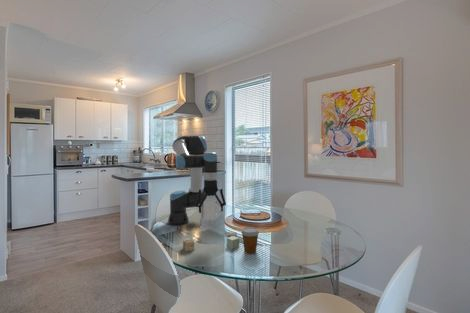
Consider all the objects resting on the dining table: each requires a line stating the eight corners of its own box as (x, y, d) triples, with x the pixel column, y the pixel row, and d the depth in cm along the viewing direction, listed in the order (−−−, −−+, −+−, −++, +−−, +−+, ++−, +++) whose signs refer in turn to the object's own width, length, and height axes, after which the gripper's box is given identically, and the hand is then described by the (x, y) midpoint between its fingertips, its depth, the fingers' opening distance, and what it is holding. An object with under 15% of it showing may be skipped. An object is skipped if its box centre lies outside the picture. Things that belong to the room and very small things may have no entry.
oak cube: (183, 248, 152) (183, 239, 152) (191, 247, 154) (191, 238, 154) (185, 251, 148) (185, 242, 147) (194, 250, 150) (194, 241, 150)
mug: (217, 222, 149) (217, 203, 149) (199, 219, 154) (199, 201, 154) (224, 218, 157) (224, 200, 157) (207, 215, 162) (206, 198, 162)
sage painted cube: (226, 246, 155) (226, 237, 154) (233, 244, 158) (233, 235, 158) (232, 248, 151) (232, 240, 151) (239, 246, 154) (239, 238, 154)
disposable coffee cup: (253, 256, 140) (253, 233, 140) (238, 252, 145) (238, 230, 145) (262, 250, 149) (261, 228, 148) (246, 246, 154) (246, 226, 153)
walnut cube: (228, 240, 164) (228, 232, 164) (236, 240, 164) (236, 232, 164) (228, 243, 159) (228, 235, 159) (236, 243, 159) (236, 235, 159)
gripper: (190, 181, 149) (191, 220, 150) (231, 179, 153) (231, 218, 154) (190, 179, 156) (191, 217, 157) (229, 177, 160) (229, 214, 161)
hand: (210, 217), depth 156 cm, fingers closed on mug, 10 cm apart
